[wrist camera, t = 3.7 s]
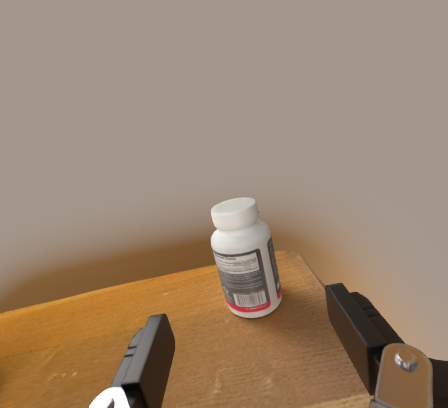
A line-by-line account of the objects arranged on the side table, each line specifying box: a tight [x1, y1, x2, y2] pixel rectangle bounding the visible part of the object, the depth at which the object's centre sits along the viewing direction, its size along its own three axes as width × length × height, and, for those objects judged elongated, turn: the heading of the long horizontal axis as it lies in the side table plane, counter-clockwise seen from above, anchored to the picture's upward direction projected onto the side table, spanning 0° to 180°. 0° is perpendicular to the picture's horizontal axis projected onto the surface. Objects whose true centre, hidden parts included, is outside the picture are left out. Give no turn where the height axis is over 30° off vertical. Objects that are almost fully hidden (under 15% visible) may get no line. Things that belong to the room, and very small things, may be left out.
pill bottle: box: [211, 197, 282, 318], centre depth 22 cm, size 5×5×10 cm
